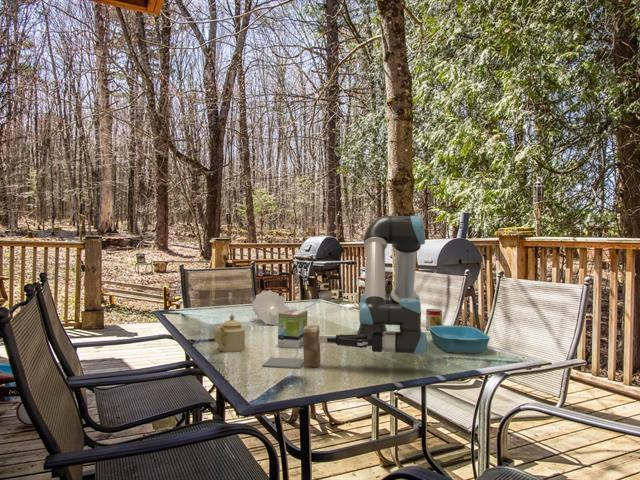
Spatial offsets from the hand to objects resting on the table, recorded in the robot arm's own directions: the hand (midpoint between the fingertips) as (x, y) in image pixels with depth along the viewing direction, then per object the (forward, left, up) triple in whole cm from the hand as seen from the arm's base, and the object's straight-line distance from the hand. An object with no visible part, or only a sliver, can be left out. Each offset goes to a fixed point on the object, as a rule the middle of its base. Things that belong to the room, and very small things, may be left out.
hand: (318, 338), depth 175 cm
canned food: (-48, -76, -10) cm, 90 cm away
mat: (+13, -1, -10) cm, 16 cm away
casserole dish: (-56, -46, -10) cm, 73 cm away
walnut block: (+2, -1, -10) cm, 10 cm away
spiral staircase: (+42, -88, -10) cm, 98 cm away
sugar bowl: (+40, -18, -10) cm, 45 cm away
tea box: (+17, -35, -10) cm, 40 cm away
